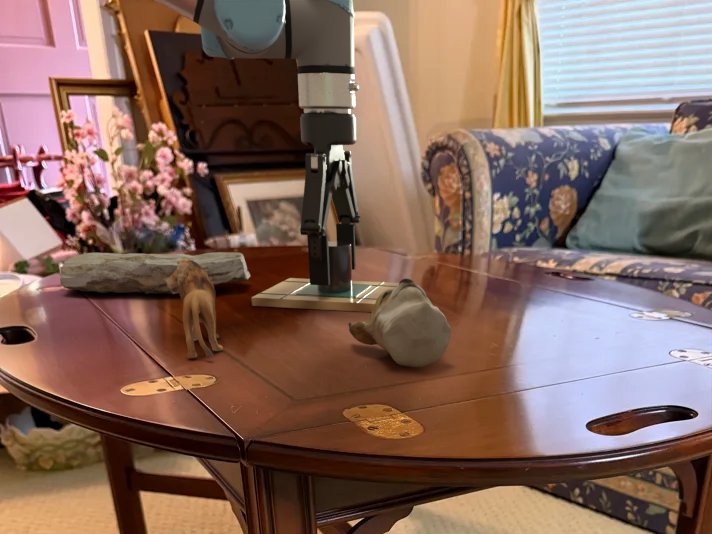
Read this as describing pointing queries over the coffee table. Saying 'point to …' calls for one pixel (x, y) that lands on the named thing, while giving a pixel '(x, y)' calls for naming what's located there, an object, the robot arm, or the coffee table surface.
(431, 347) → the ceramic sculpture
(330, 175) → the robot arm
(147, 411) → the coffee table surface
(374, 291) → the grid board
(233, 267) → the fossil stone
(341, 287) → the black round canister
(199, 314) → the lion figurine
